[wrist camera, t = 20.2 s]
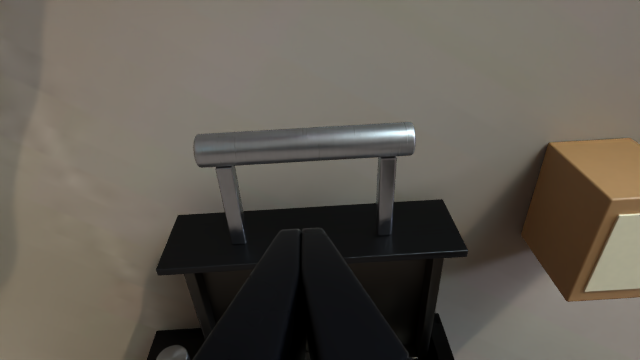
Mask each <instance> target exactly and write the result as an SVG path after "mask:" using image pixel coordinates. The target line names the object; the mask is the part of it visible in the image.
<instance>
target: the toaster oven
mask: <svg viewBox="0 0 640 360" xmlns="http://www.w3.org/2000/svg"><path fill="white" fill-rule="evenodd" d="M204 342H205V338H204V335H203V332H202V328H196V329H180V330H164V331H156V334H155V337H154V340H153V343H152V346H151V349H150V351H149V354H148V357H147V360H193V358H194V357H195V355H196V354H197V352H198V351H199V349H200V348H201V346H202V345H203V343H204ZM427 360H454V357H453V354H452V351H451V348H450V345H449V343H448V340H447V337H446V334H445V331H444V328H443V325H442V322H441V320H440V317H439V314H438V313H434V319H433V325H432V331H431V337H430V343H429V349H428V355H427Z"/></svg>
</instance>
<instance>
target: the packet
mask: <svg viewBox="0 0 640 360" xmlns="http://www.w3.org/2000/svg"><path fill="white" fill-rule="evenodd" d="M521 236H522V238H523V239H524V240H525V242H526V243H527V245H528V246H529V248H530V249H531V251H532V252H533V253H534V255H535V256H536V258H537V259H538V261H539V262H540V264H541V265H542V266H543V268H544V269H545V271H546V272H547V274H548V275H549V277H550V278H551V279H552V281H553V282H554V284H555V285H556V287H557V288H558V290H559V291H560V293H561V294H562V295H563V297H564V298H565V300H566V301H568V302H570V301H586V300H602V299H618V298H634V297H640V144H638V143H637V142H635V141H634V140H632V139H631V138H621V139H604V140H586V141H569V142H552V143H549V144H548V147H547V150H546V154H545V157H544V160H543V164H542V167H541V170H540V173H539V177H538V180H537V183H536V187H535V190H534V193H533V197H532V200H531V203H530V207H529V210H528V213H527V216H526V220H525V223H524V226H523V230H522V233H521Z"/></svg>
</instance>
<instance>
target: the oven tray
mask: <svg viewBox="0 0 640 360" xmlns="http://www.w3.org/2000/svg"><path fill="white" fill-rule="evenodd" d="M415 143H416V138H415V130H414V126H413V124H412V123H411V122H400V123H382V124H365V125H348V126H331V127H313V128H296V129H279V130H261V131H244V132H227V133H209V134H198V135H196V136H195V139H194V146H193V148H194V157H195V161H196V163H197V165H198V166H199V167H201V168H203V167H216V173H217V178H218V183H219V187H220V192H221V196H222V201H223V206H224V210H225V212H223V213H207V214H190V215H178V217H177V219H176V221H175V224H174V226H173V229H172V231H171V234H170V236H169V239H168V241H167V244H166V246H165V249H164V251H163V253H162V256H161V258H160V261H159V263H158V266H157V268H156V271H157V274H158V275H175V274H184V276H185V279H186V282H187V285H188V288H189V291H190V294H191V297H192V300H193V304H194V307H195V310H196V313H197V316H198V319H199V322H200V325H201V328H202V332H203V335H204V338H205V340H206V339H207V337H208V336H209V334H210V333H211V331H212V330H213V329H214V327H215V326H216V324H217V323H218V321H219V320H220V318H221V317H222V315H223V314H224V312H225V311H226V309H227V308H228V306H229V305H230V303H231V302H232V300H233V299H234V297H235V296H236V295H237V293H238V292H239V290H240V289H241V287H242V286H243V284H244V283H245V281H246V280H247V278H248V277H249V275H250V274H251V272H252V271H253V269H254V268H255V266H256V265H257V263H258V262H259V261H260V259H261V258H262V256H263V255H264V253H265V252H266V250H267V249H268V247H269V246H270V244H271V243H272V241H273V240H274V238H275V237H276V235H277V234H278V232H279V231H281V230H285V229H299V230H300V231H301V232H302V230H303V229H304V228H318V227H319V228H322V229H323V230H324V231H325V232H326V234H327V235H328V237H329V238H330V240H331V241H332V243H333V244H334V245H335V247H336V248H337V250H338V251H339V253H340V254H341V256H342V257H343V259H344V260H345V261H346V263H347V264H348V266H349V267H350V269H351V270H352V272H353V273H354V274H355V276H356V277H357V279H358V280H359V282H360V283H361V285H362V286H363V288H364V289H365V290H366V292H367V293H368V295H369V296H370V298H371V299H372V301H373V302H374V304H375V305H376V306H377V308H378V309H379V311H380V312H381V314H382V315H383V317H384V318H385V320H386V321H387V322H388V324H389V325H390V327H391V328H392V330H393V331H394V333H395V334H396V336H397V337H398V338H399V340H400V341H401V343H402V344H403V346H404V347H405V349H406V350H407V351H408V353H409V357H412V358H413V360H427V355H428V349H429V343H430V337H431V331H432V325H433V319H434V313H435V308H436V302H437V296H438V290H439V284H440V278H441V272H442V266H443V261H444V258H452V257H466V256H467V254H468V249H467V247H466V245H465V243H464V241H463V239H462V237H461V235H460V233H459V231H458V229H457V227H456V225H455V223H454V221H453V219H452V217H451V215H450V213H449V211H448V209H447V207H446V205H445V203H444V201H443V200H442V199H441V200H424V201H407V202H394V190H395V176H396V161H397V158H396V156H407V155H412V154H413V153H414V150H415ZM373 157H378V174H377V198H376V203H374V204H357V205H340V206H324V207H307V208H290V209H274V210H257V211H243V207H242V201H241V196H240V191H239V185H238V180H237V175H236V169H235V166H237V165H254V164H271V163H288V162H305V161H322V160H339V159H356V158H373ZM305 360H310V355H309V348H308V341H307V330H306V355H305Z"/></svg>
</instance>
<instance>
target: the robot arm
mask: <svg viewBox="0 0 640 360" xmlns="http://www.w3.org/2000/svg"><path fill="white" fill-rule="evenodd" d="M306 330H307V341H308V348H309V355H310V360H413V358H412V357H409V353H408V351H407V350H406V349H405V347H404V346H403V344H402V343H401V341H400V340H399V338H398V337H397V336H396V334H395V333H394V331H393V330H392V328H391V327H390V325H389V324H388V322H387V321H386V320H385V318H384V317H383V315H382V314H381V312H380V311H379V309H378V308H377V306H376V305H375V304H374V302H373V301H372V299H371V298H370V296H369V295H368V293H367V292H366V290H365V289H364V288H363V286H362V285H361V283H360V282H359V280H358V279H357V277H356V276H355V274H354V273H353V272H352V270H351V269H350V267H349V266H348V264H347V263H346V261H345V260H344V259H343V257H342V256H341V254H340V253H339V251H338V250H337V248H336V247H335V245H334V244H333V243H332V241H331V240H330V238H329V237H328V235H327V234H326V232H325V231H324V230H323V229H322V228H319V227H318V228H304V229H303V230H302V232H301V231H300V230H299V229H285V230H281V231H279V232H278V234H277V235H276V237H275V238H274V240H273V241H272V243H271V244H270V246H269V247H268V249H267V250H266V252H265V253H264V255H263V256H262V258H261V259H260V261H259V262H258V263H257V265H256V266H255V268H254V269H253V271H252V272H251V274H250V275H249V277H248V278H247V280H246V281H245V283H244V284H243V286H242V287H241V289H240V290H239V292H238V293H237V295H236V296H235V297H234V299H233V300H232V302H231V303H230V305H229V306H228V308H227V309H226V311H225V312H224V314H223V315H222V317H221V318H220V320H219V321H218V323H217V324H216V326H215V327H214V329H213V330H212V331H211V333H210V334H209V336H208V337H207V339H206V340H205V342H204V343H203V345H202V346H201V348H200V349H199V351H198V352H197V354H196V355H195V357H194V358H193V360H305V355H306Z"/></svg>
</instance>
